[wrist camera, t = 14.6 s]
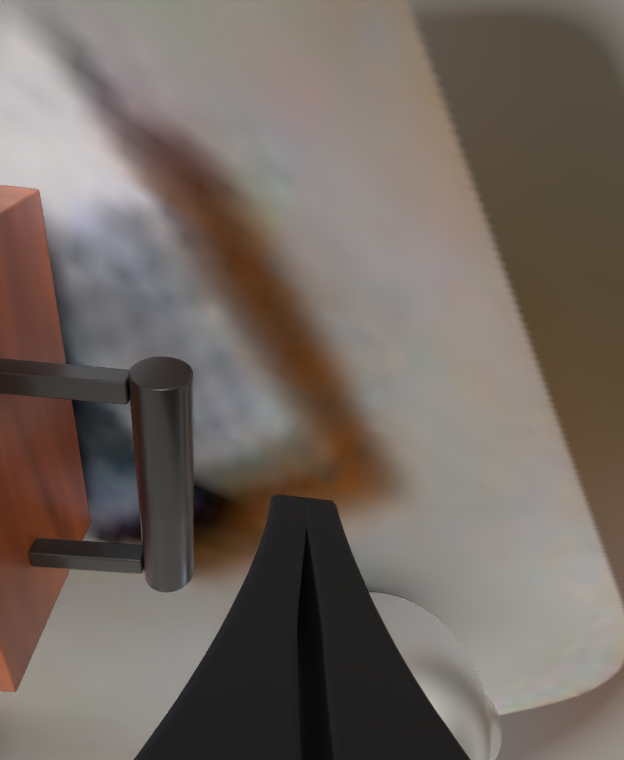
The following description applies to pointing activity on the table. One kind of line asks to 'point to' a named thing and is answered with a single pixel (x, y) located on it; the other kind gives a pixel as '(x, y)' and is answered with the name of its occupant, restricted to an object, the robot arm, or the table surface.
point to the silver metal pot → (443, 674)
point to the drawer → (75, 449)
